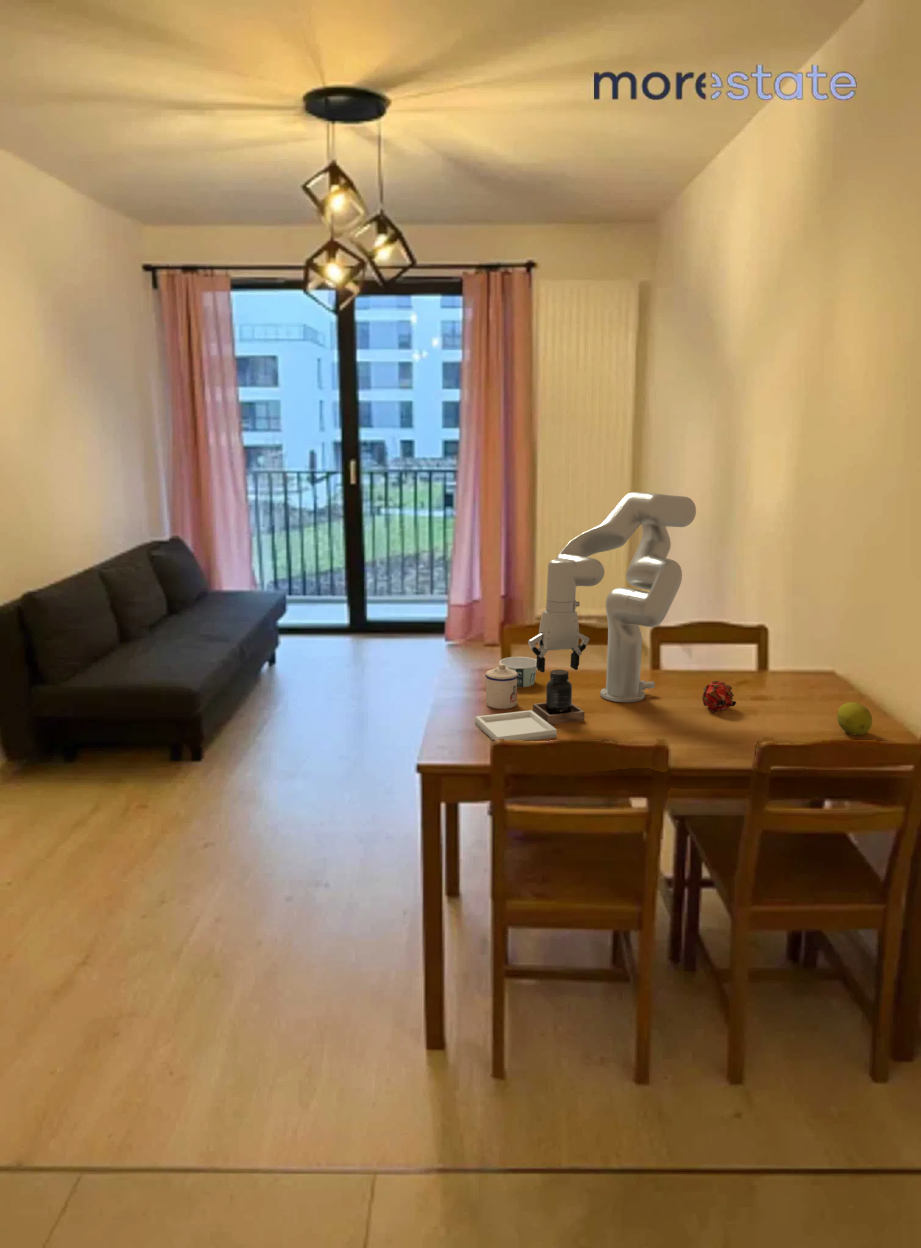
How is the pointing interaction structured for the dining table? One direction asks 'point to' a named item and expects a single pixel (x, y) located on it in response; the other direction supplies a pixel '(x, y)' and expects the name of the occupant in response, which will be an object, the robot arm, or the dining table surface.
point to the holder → (573, 716)
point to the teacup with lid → (501, 687)
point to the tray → (516, 726)
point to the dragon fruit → (718, 696)
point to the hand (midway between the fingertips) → (557, 669)
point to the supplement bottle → (558, 693)
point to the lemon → (854, 718)
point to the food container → (522, 669)
